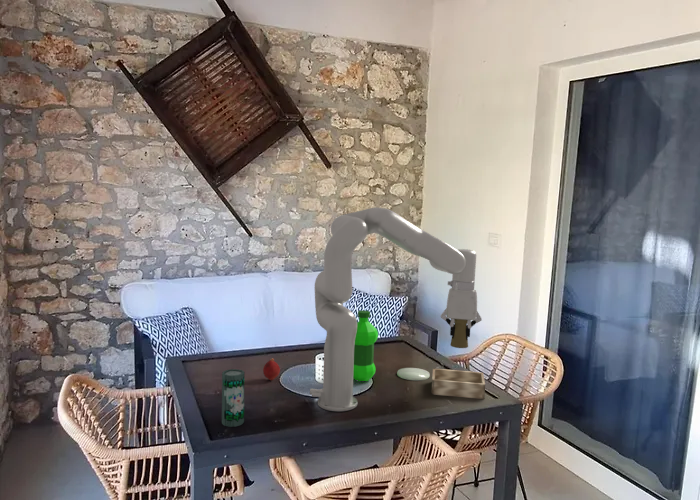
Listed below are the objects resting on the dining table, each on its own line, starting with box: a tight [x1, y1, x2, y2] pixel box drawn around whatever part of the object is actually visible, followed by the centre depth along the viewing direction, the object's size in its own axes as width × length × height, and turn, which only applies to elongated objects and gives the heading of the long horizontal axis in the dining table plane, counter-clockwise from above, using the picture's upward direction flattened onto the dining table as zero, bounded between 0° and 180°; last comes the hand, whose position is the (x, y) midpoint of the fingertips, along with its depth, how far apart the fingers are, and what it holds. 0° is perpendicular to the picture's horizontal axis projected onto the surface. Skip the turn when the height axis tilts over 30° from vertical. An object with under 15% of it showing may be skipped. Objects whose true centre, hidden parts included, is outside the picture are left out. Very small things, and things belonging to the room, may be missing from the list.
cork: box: [450, 319, 469, 349], centre depth 199 cm, size 6×6×11 cm
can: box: [221, 368, 245, 428], centre depth 168 cm, size 6×6×15 cm
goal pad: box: [396, 367, 431, 382], centre depth 216 cm, size 12×12×1 cm
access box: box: [430, 368, 486, 400], centre depth 201 cm, size 18×13×5 cm
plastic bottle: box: [353, 309, 379, 382], centre depth 207 cm, size 10×10×25 cm
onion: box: [262, 358, 281, 381], centre depth 205 cm, size 6×6×8 cm
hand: (459, 337), depth 199 cm, fingers closed on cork, 3 cm apart
